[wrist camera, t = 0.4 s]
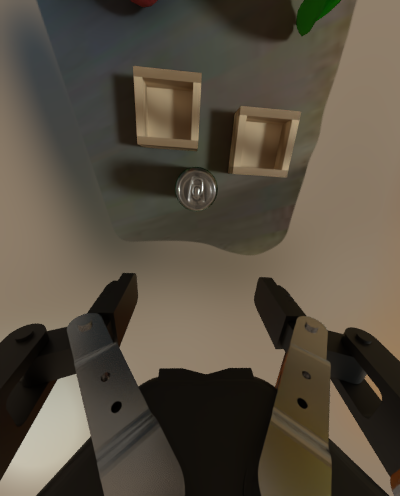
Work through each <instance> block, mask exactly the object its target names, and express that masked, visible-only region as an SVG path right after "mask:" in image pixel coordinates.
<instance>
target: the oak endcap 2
mask: <svg viewBox="0 0 400 496" xmlns="http://www.w3.org/2000/svg"><path fill="white" fill-rule="evenodd" d="M300 115H301V112H299V111H288V110H278V109H267V108H257V107H246V106H240V108H239V109H238V110H237V112H236V113H235V115H234V124H233V133H232V142H231V151H230V160H229V169H228V173H229V174H244V175H258V176H273V177H287V173H288V169H289V164H290V160H291V155H292V151H293V146H294V142H295V138H296V133H297V129H298V124H299V120H300Z"/></svg>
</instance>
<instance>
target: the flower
mask: <svg viewBox="0 0 400 496" xmlns="http://www.w3.org/2000/svg"><path fill="white" fill-rule="evenodd" d="M340 1H341V0H304V1H303V3H302V4H301V6H300V8H299V10H298V13H297V19H296V25H297V29H298V31H299V33H300V35H301V36H304V35H305V34H307V33H308V32H310V30H311V29H312V27H313V25H314V23H315V22H316V21H317V20H319V19H320V18H322V17H323V16H325V15H326V14H327V13H329V12H330V11H331V10H332V9H333V8H334V7H335V6H336V5H337V4H338V3H339V2H340Z"/></svg>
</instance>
